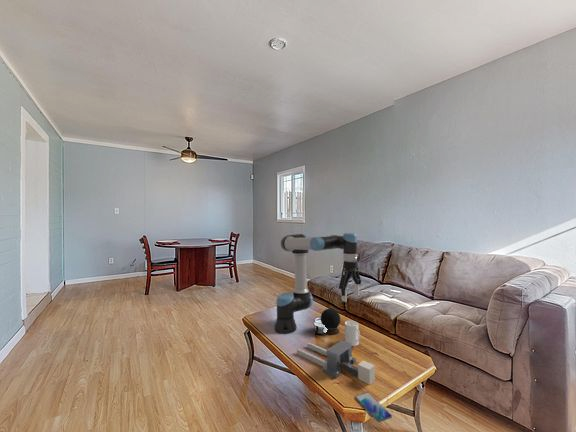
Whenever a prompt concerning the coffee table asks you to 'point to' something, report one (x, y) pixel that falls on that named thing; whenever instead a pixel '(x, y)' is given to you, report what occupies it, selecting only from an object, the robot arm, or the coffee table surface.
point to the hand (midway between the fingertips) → (350, 298)
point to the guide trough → (312, 357)
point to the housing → (338, 358)
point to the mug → (352, 333)
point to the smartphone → (373, 407)
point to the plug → (361, 371)
